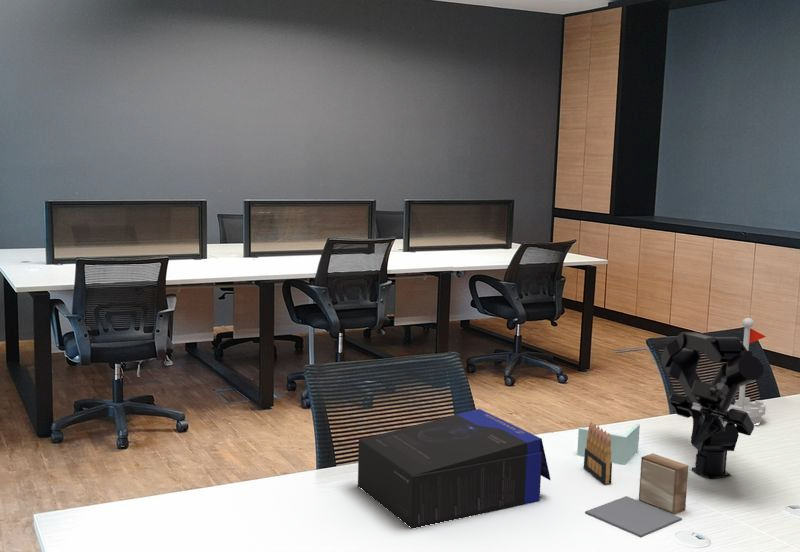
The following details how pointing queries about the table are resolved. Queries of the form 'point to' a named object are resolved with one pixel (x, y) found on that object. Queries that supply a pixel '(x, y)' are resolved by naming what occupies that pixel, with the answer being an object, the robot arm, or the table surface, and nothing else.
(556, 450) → the table surface
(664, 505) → the tan wooden block
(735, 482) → the table surface
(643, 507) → the mat
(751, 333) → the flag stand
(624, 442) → the l-shaped corner panel
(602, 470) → the ammunition clip
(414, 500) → the headphone box
